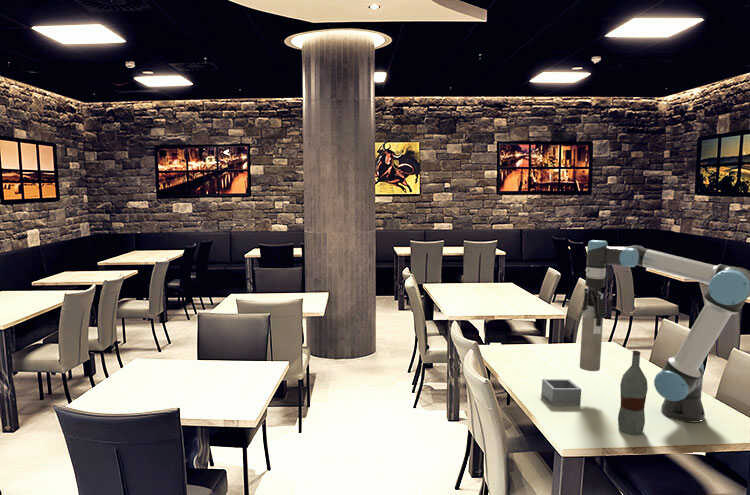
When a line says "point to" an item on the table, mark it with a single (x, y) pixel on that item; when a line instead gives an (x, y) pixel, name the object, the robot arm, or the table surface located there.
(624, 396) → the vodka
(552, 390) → the bin
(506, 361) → the table surface
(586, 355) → the thermos bottle
